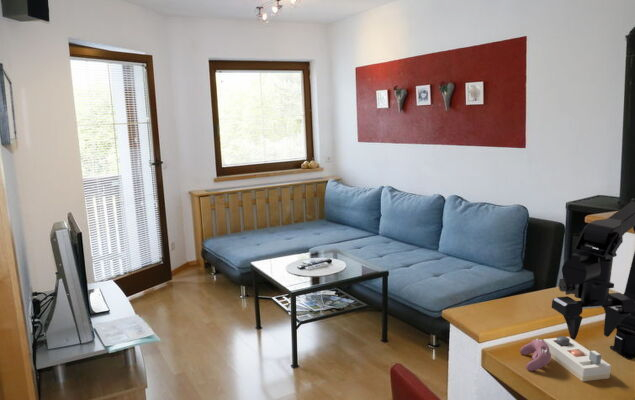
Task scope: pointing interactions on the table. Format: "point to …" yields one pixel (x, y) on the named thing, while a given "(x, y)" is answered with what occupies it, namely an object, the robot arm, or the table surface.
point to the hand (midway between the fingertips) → (589, 337)
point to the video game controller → (537, 354)
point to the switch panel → (577, 361)
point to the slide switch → (595, 357)
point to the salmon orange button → (577, 353)
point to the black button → (563, 341)
